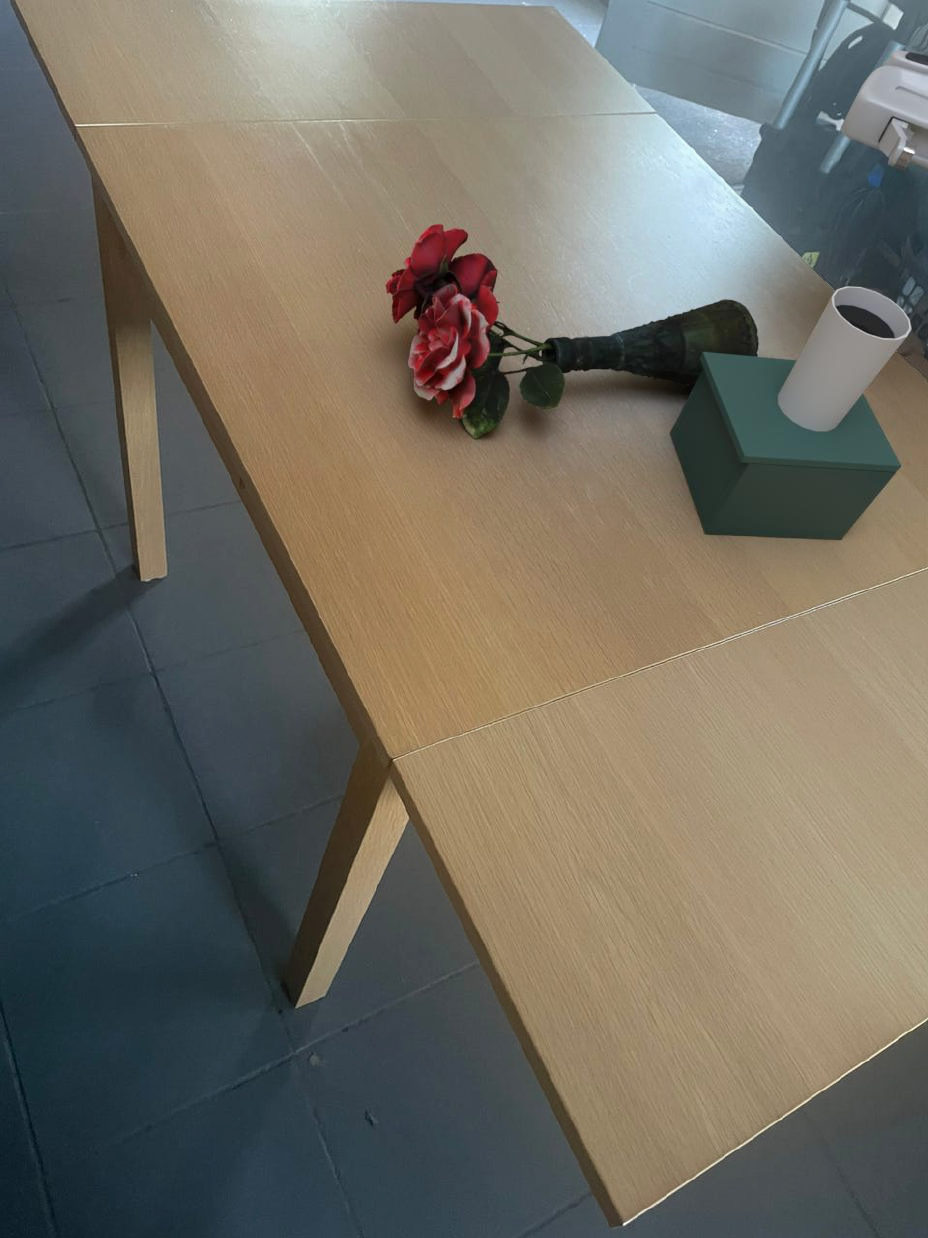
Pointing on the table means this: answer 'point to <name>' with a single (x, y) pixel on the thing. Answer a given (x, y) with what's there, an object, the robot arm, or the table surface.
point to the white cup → (842, 357)
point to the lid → (772, 436)
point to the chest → (763, 482)
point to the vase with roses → (463, 347)
